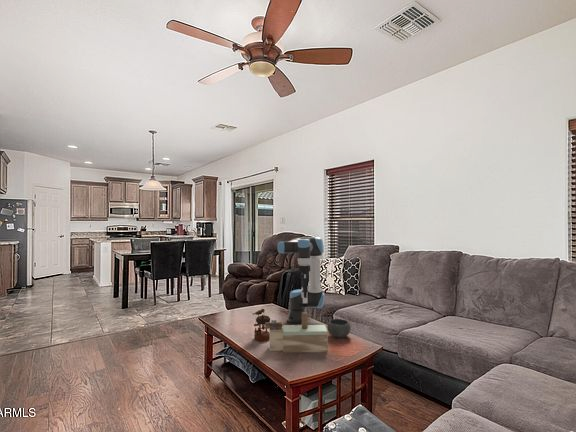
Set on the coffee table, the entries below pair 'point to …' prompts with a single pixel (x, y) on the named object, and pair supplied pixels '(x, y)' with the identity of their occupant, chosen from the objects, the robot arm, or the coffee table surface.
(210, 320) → the coffee table surface
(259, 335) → the music box
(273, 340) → the toolbox
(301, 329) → the lid
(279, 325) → the tan wooden beam
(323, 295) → the robot arm
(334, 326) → the bowl
